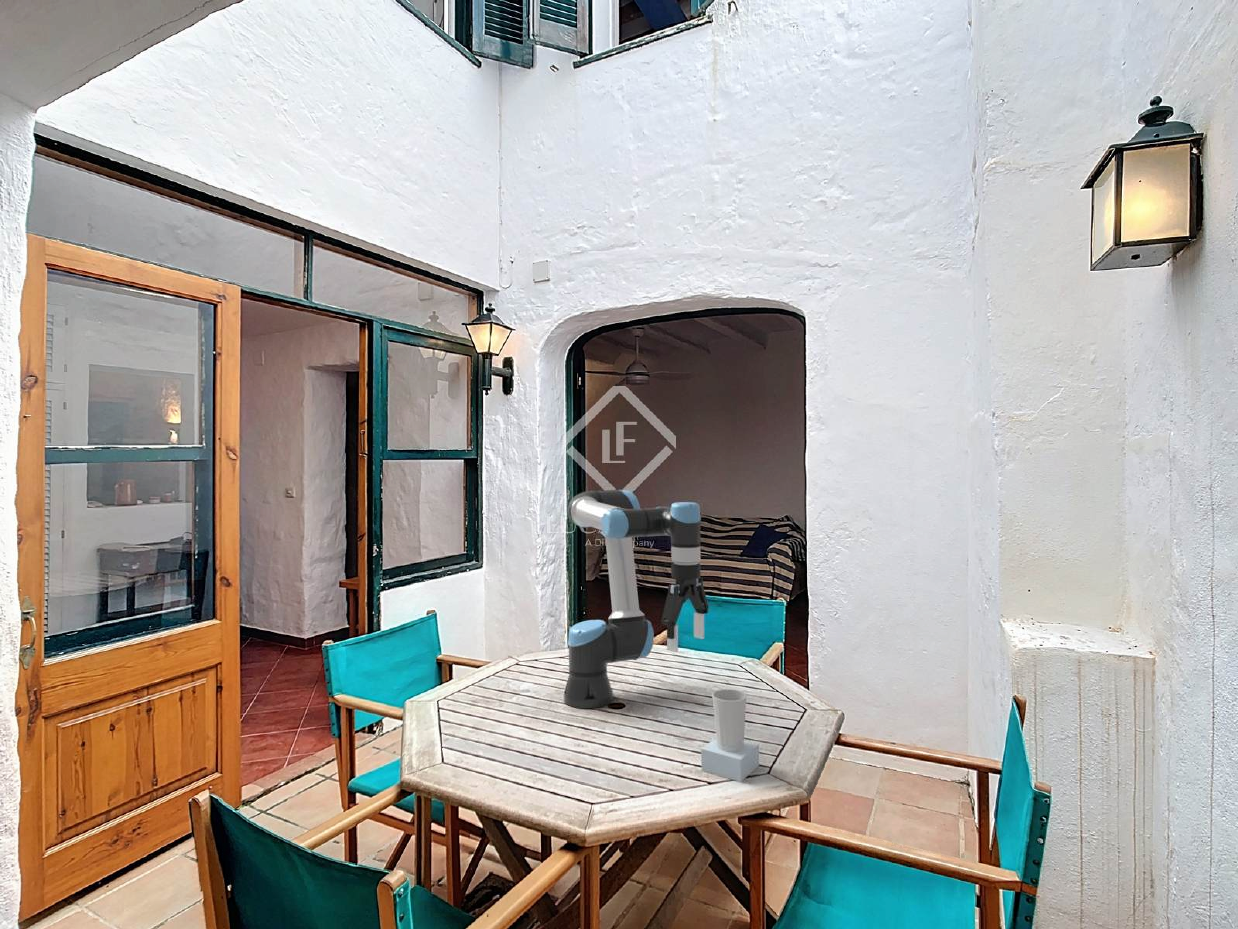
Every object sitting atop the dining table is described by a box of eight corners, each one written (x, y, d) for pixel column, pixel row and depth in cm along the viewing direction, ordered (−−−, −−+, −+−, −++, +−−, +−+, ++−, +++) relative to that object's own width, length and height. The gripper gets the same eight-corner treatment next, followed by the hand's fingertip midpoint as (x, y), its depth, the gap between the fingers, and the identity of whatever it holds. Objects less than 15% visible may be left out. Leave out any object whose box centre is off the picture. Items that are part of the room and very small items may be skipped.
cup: (706, 742, 153) (706, 692, 153) (735, 736, 155) (735, 687, 156) (723, 756, 145) (722, 703, 145) (754, 750, 148) (753, 698, 148)
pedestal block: (721, 754, 157) (720, 734, 157) (759, 765, 151) (758, 743, 151) (701, 770, 149) (701, 748, 149) (740, 782, 143) (740, 759, 143)
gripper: (696, 554, 177) (697, 630, 178) (646, 568, 157) (647, 654, 158) (721, 557, 173) (721, 635, 173) (673, 571, 153) (673, 659, 153)
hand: (686, 644), depth 165 cm, fingers open, 13 cm apart
